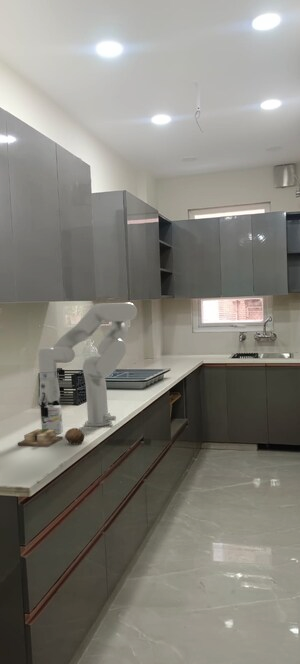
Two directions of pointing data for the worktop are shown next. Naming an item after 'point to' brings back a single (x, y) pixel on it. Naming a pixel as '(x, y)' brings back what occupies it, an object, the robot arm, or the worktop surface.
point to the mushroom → (74, 436)
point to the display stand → (40, 438)
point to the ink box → (53, 420)
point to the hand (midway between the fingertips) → (50, 414)
